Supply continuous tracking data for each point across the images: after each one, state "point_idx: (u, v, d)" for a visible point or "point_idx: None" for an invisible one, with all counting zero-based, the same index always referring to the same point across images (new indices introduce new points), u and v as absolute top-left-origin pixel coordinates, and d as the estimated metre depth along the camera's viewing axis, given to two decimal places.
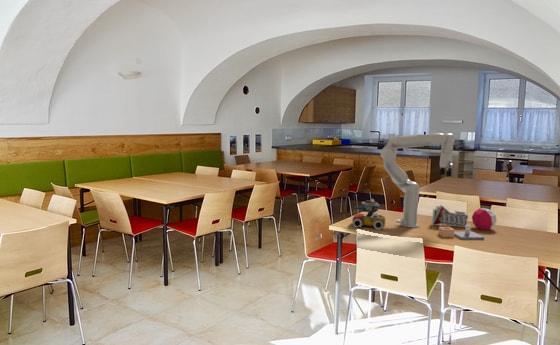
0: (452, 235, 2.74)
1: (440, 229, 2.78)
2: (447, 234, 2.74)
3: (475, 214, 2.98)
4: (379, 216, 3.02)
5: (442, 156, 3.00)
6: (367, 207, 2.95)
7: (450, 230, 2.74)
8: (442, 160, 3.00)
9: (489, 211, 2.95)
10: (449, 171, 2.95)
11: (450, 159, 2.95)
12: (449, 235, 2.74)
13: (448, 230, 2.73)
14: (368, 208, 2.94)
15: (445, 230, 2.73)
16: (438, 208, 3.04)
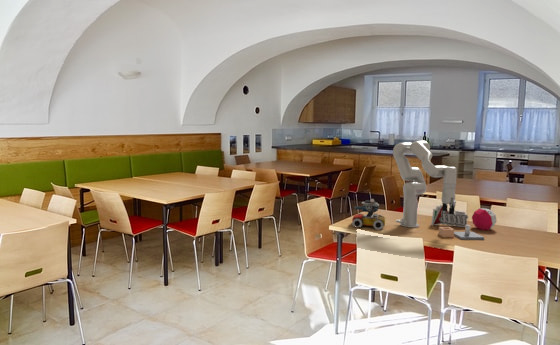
0: (452, 235, 2.74)
1: (440, 229, 2.78)
2: (447, 234, 2.74)
3: (475, 214, 2.98)
4: (379, 216, 3.02)
5: (444, 191, 2.75)
6: (367, 207, 2.95)
7: (450, 230, 2.74)
8: (444, 196, 2.74)
9: (489, 211, 2.95)
10: (452, 208, 2.69)
11: (453, 195, 2.69)
12: (449, 235, 2.74)
13: (448, 230, 2.73)
14: (368, 208, 2.94)
15: (445, 230, 2.73)
16: (438, 208, 3.04)
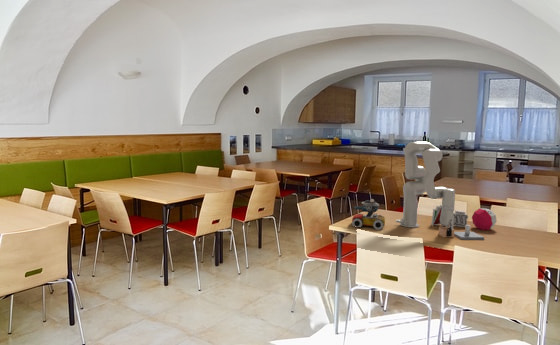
0: (452, 235, 2.74)
1: (440, 229, 2.78)
2: None
3: (475, 214, 2.98)
4: (379, 216, 3.02)
5: (443, 213, 2.76)
6: (367, 207, 2.95)
7: None
8: (443, 217, 2.76)
9: (489, 211, 2.95)
10: (449, 231, 2.72)
11: (451, 217, 2.71)
12: None
13: None
14: (368, 208, 2.95)
15: (445, 230, 2.73)
16: (438, 208, 3.04)
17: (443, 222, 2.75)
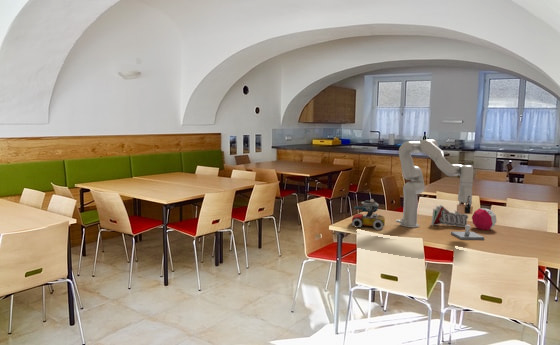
0: (470, 212, 2.71)
1: (458, 206, 2.75)
2: None
3: (475, 214, 2.98)
4: (378, 216, 3.03)
5: (461, 190, 2.73)
6: (367, 207, 2.95)
7: None
8: (461, 194, 2.73)
9: (489, 211, 2.95)
10: (468, 208, 2.69)
11: (470, 194, 2.68)
12: None
13: None
14: (368, 208, 2.95)
15: (463, 207, 2.71)
16: (438, 208, 3.04)
17: (461, 199, 2.73)
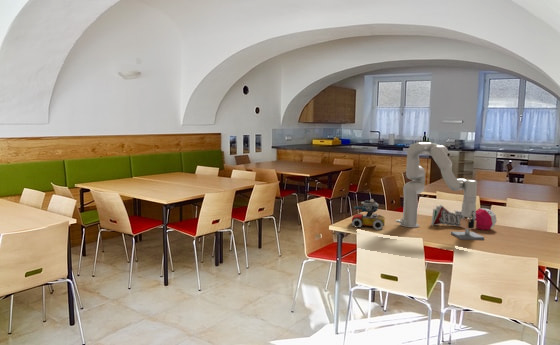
0: (474, 227, 2.72)
1: (462, 221, 2.76)
2: None
3: None
4: (378, 216, 3.03)
5: (464, 204, 2.74)
6: (366, 207, 2.95)
7: None
8: (464, 209, 2.74)
9: (489, 211, 2.95)
10: (471, 222, 2.70)
11: (473, 209, 2.69)
12: None
13: None
14: (367, 208, 2.95)
15: (467, 222, 2.71)
16: (438, 208, 3.04)
17: (465, 214, 2.73)
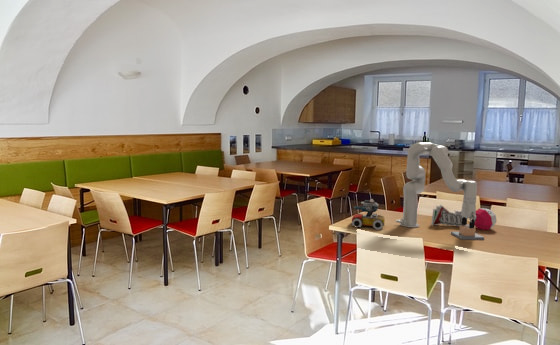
0: (473, 234, 2.73)
1: (461, 228, 2.77)
2: (468, 233, 2.72)
3: (475, 214, 2.98)
4: (378, 216, 3.03)
5: (464, 205, 2.74)
6: (366, 207, 2.95)
7: (471, 229, 2.72)
8: (464, 210, 2.74)
9: (489, 211, 2.95)
10: (472, 223, 2.69)
11: (473, 209, 2.69)
12: (470, 234, 2.73)
13: (469, 229, 2.72)
14: (367, 208, 2.95)
15: (466, 229, 2.72)
16: (438, 208, 3.04)
17: (465, 214, 2.73)
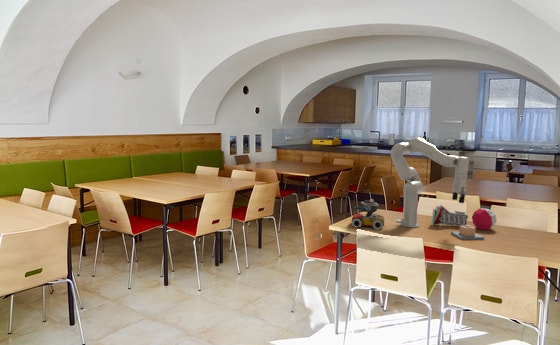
0: (473, 234, 2.73)
1: (461, 228, 2.77)
2: (468, 233, 2.72)
3: (475, 214, 2.98)
4: (378, 216, 3.03)
5: (455, 180, 2.80)
6: (366, 207, 2.95)
7: (471, 229, 2.72)
8: (455, 185, 2.80)
9: (489, 211, 2.95)
10: (462, 197, 2.75)
11: (464, 185, 2.75)
12: (470, 234, 2.73)
13: (469, 229, 2.72)
14: (367, 208, 2.95)
15: (466, 229, 2.72)
16: (438, 208, 3.04)
17: (455, 189, 2.80)
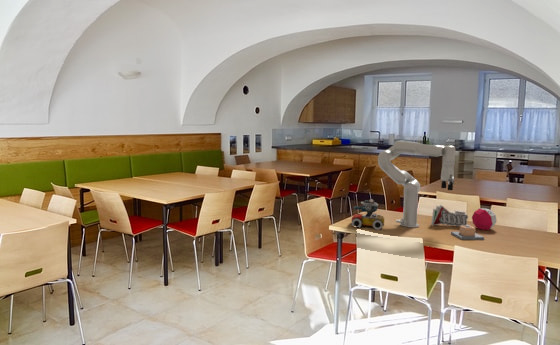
0: (473, 234, 2.73)
1: (461, 228, 2.77)
2: (468, 233, 2.72)
3: (475, 214, 2.98)
4: (378, 216, 3.03)
5: (443, 169, 2.90)
6: (366, 207, 2.95)
7: (471, 229, 2.72)
8: (443, 173, 2.89)
9: (489, 211, 2.95)
10: (450, 185, 2.84)
11: (452, 172, 2.84)
12: (470, 234, 2.73)
13: (469, 229, 2.72)
14: (367, 208, 2.95)
15: (466, 229, 2.72)
16: (438, 208, 3.04)
17: (444, 178, 2.89)
